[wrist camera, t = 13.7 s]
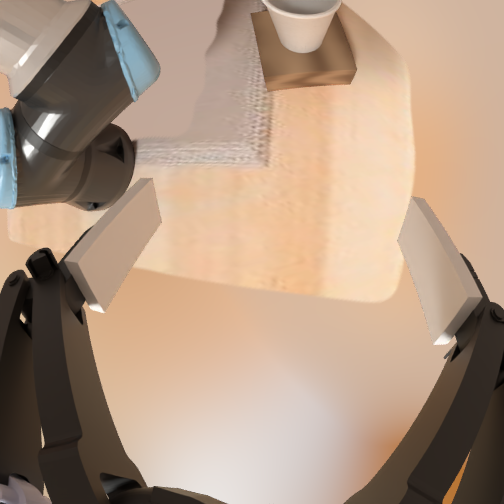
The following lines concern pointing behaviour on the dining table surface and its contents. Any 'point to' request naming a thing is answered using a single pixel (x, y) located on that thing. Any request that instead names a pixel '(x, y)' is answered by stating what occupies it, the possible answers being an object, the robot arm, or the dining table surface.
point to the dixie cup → (302, 22)
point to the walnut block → (303, 58)
